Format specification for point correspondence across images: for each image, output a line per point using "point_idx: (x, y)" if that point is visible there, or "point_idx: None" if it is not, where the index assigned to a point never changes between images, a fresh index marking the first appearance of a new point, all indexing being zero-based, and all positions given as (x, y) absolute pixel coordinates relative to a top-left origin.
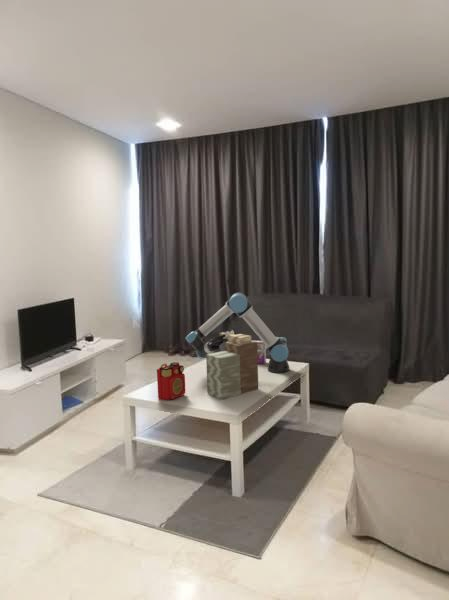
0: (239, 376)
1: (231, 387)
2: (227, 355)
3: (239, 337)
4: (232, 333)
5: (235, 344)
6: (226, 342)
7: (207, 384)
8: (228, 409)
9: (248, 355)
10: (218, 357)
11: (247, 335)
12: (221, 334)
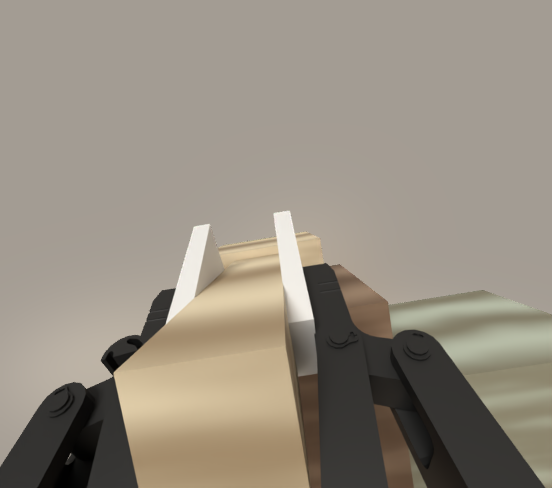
0: None
1: None
2: (426, 309)
3: (305, 232)
4: (219, 264)
5: (340, 273)
6: (370, 299)
7: None
8: None
9: None
10: (496, 297)
11: (224, 246)
12: (288, 339)
